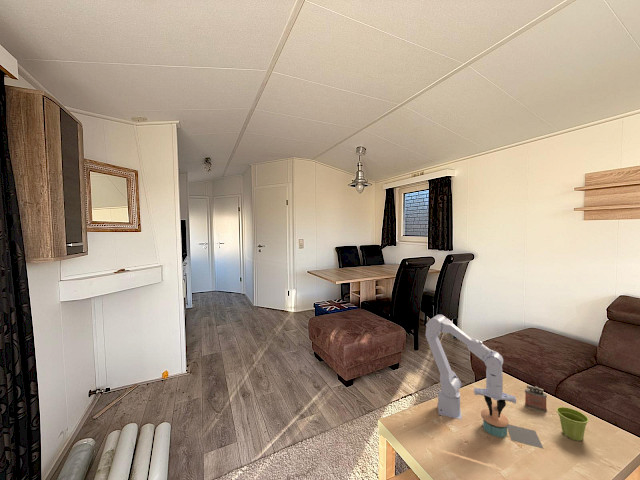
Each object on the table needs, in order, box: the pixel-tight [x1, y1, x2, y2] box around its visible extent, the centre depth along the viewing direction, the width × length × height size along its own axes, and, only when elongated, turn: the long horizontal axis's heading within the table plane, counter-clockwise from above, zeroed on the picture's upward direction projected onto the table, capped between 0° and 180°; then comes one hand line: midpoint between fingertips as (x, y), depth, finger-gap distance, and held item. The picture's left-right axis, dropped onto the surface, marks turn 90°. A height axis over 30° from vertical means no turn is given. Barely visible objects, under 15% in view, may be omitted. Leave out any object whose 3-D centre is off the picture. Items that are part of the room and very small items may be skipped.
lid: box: [480, 403, 510, 427], centre depth 109 cm, size 10×10×5 cm
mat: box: [507, 424, 545, 449], centre depth 106 cm, size 10×10×1 cm
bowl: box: [482, 418, 508, 438], centre depth 109 cm, size 8×8×4 cm
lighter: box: [524, 384, 548, 413], centre depth 123 cm, size 8×3×10 cm, turn 58°
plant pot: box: [556, 406, 590, 442], centre depth 106 cm, size 9×9×9 cm
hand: (494, 415), depth 109 cm, fingers closed on lid
